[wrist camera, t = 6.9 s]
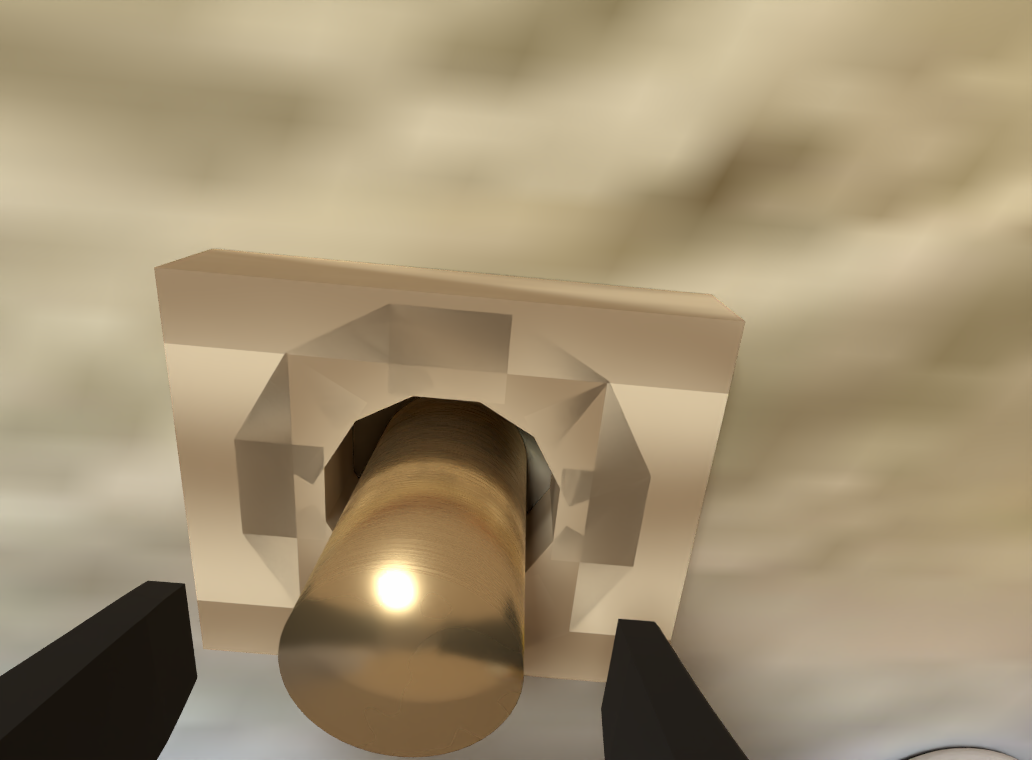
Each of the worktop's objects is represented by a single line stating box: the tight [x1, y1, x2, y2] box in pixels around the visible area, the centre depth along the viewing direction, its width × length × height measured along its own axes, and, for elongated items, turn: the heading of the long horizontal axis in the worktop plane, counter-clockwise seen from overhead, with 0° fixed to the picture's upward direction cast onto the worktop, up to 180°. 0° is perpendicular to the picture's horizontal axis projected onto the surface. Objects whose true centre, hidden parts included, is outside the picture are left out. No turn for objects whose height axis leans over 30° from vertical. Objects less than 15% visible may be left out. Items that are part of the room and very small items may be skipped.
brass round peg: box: [278, 397, 527, 757], centre depth 13 cm, size 4×4×7 cm
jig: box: [154, 249, 745, 682], centre depth 15 cm, size 10×12×2 cm
